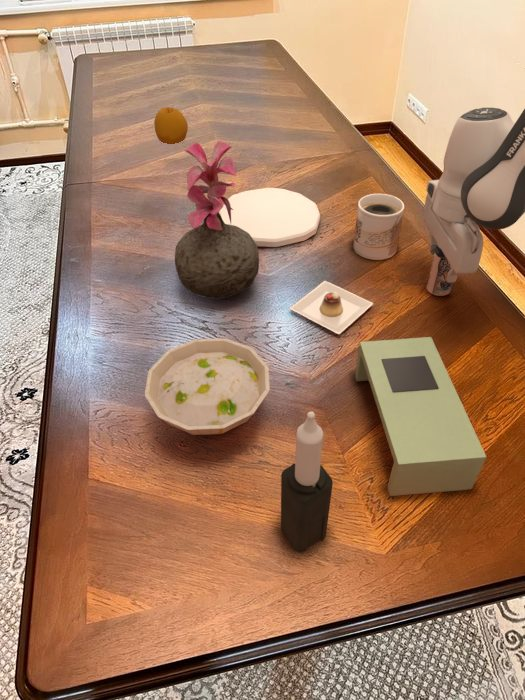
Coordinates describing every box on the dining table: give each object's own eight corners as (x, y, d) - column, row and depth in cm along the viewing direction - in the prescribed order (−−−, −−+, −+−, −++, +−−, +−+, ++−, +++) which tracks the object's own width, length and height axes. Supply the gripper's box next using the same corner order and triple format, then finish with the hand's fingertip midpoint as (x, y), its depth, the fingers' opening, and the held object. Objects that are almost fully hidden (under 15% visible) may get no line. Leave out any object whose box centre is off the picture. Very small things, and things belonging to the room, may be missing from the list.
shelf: (422, 370, 95) (431, 335, 89) (471, 489, 77) (487, 456, 72) (354, 375, 94) (359, 340, 88) (389, 496, 77) (398, 463, 71)
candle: (298, 555, 71) (305, 440, 53) (277, 525, 74) (277, 407, 57) (329, 535, 73) (345, 418, 55) (307, 507, 76) (316, 387, 58)
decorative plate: (337, 220, 123) (233, 240, 118) (336, 236, 126) (234, 256, 121) (298, 174, 141) (206, 190, 136) (298, 189, 144) (208, 205, 138)
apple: (193, 141, 167) (189, 102, 159) (183, 154, 161) (178, 114, 152) (164, 139, 169) (158, 100, 161) (152, 152, 162) (146, 112, 154)
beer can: (435, 300, 109) (448, 249, 100) (421, 287, 112) (433, 237, 103) (454, 293, 110) (469, 243, 102) (440, 281, 113) (453, 231, 105)
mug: (344, 253, 121) (348, 209, 114) (360, 227, 129) (366, 184, 121) (389, 264, 118) (397, 219, 110) (403, 237, 126) (412, 193, 118)
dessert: (288, 312, 107) (289, 293, 103) (324, 284, 113) (326, 265, 110) (338, 338, 101) (340, 319, 97) (373, 307, 107) (376, 288, 104)
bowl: (282, 383, 93) (282, 341, 86) (256, 477, 79) (254, 436, 72) (176, 367, 96) (169, 325, 89) (134, 454, 83) (121, 413, 76)
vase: (181, 318, 106) (158, 174, 85) (177, 267, 118) (156, 131, 98) (265, 308, 108) (262, 165, 87) (252, 259, 120) (248, 124, 99)
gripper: (500, 232, 89) (477, 297, 99) (456, 176, 104) (440, 237, 114) (463, 234, 89) (444, 299, 99) (424, 177, 104) (411, 239, 113)
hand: (441, 266), depth 106 cm, fingers open, 8 cm apart
